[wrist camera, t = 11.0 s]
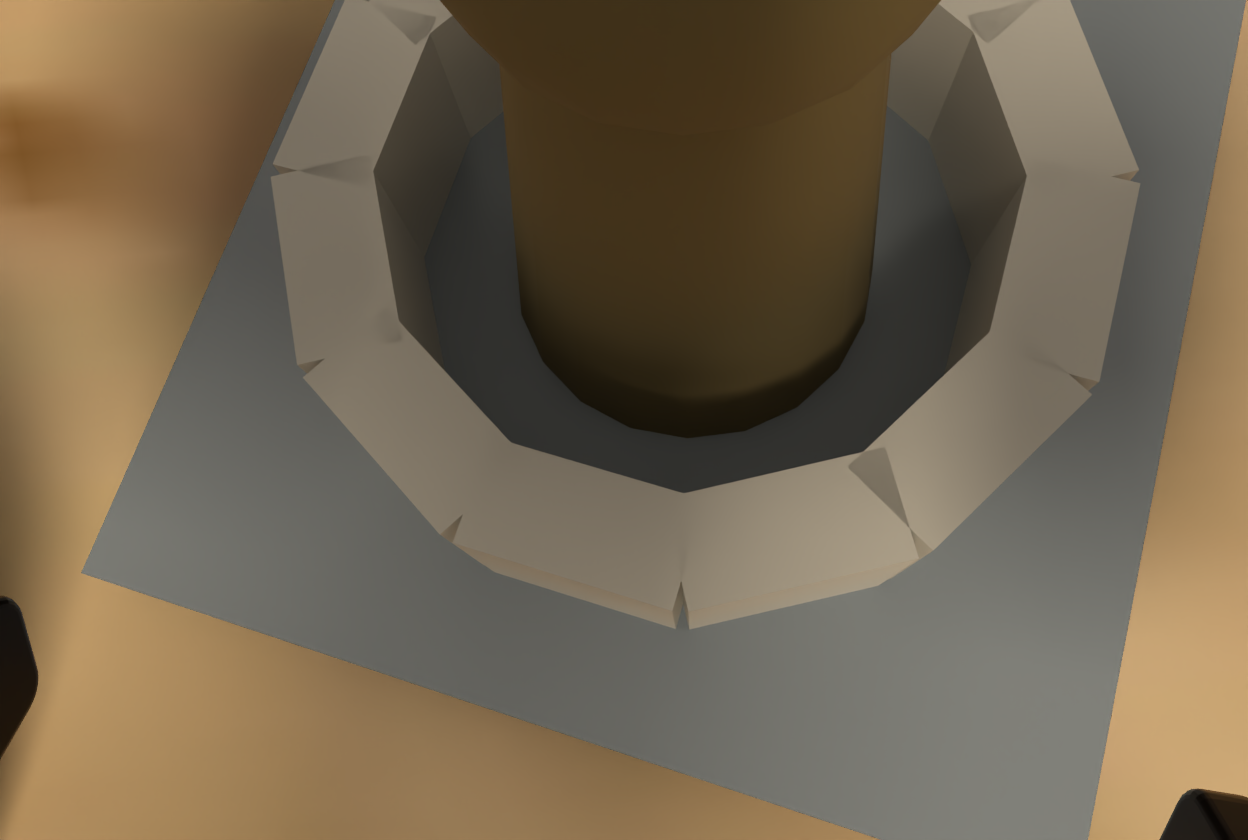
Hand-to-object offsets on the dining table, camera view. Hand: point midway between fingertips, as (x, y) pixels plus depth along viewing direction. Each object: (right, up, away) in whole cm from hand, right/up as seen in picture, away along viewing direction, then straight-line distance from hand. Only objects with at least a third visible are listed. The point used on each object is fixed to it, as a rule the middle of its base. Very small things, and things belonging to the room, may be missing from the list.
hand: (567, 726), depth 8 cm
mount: (+2, +5, +11) cm, 12 cm away
